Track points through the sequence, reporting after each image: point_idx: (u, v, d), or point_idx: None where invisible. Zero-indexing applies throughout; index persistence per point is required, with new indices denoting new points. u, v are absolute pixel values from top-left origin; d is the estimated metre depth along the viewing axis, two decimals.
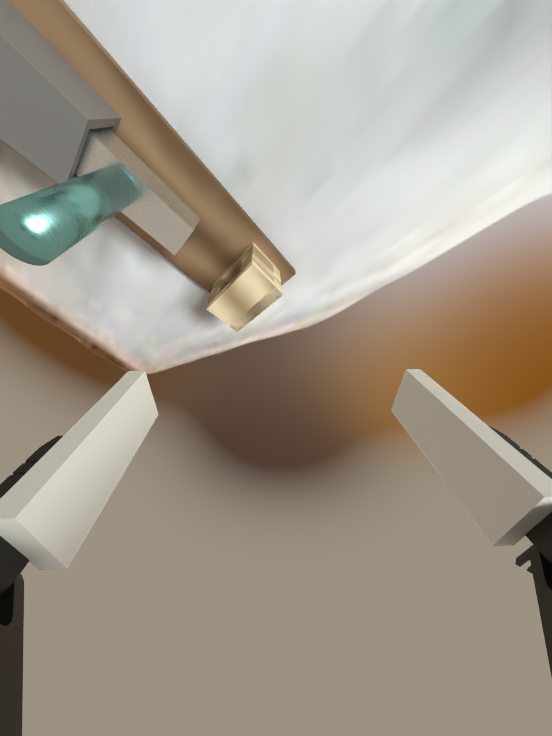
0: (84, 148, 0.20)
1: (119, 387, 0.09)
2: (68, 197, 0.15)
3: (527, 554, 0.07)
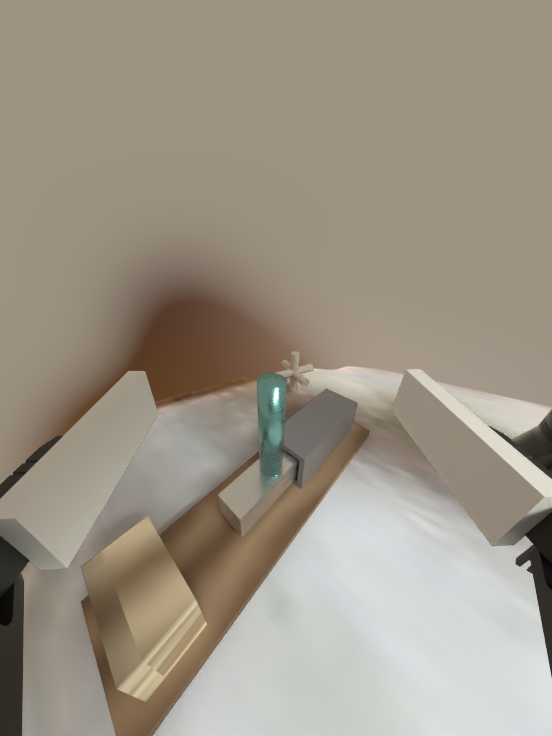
0: (288, 454, 0.31)
1: (119, 387, 0.09)
2: (282, 418, 0.24)
3: (527, 554, 0.07)
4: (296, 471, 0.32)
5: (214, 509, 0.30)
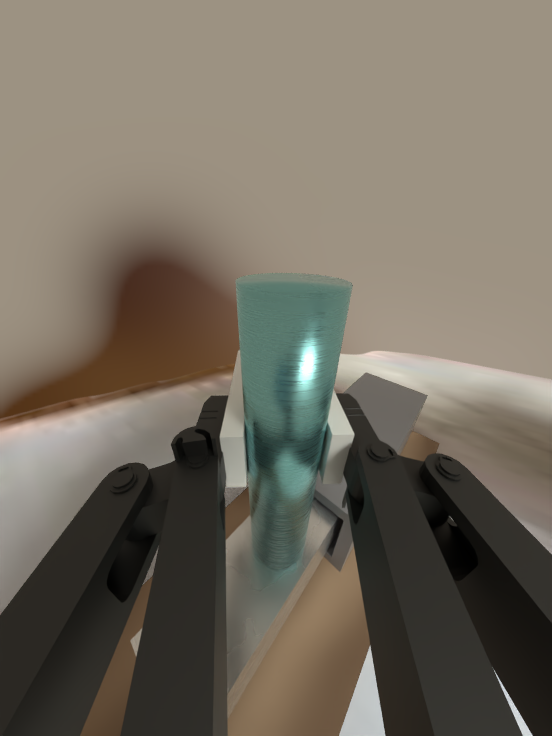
0: (317, 502, 0.14)
1: None
2: (322, 428, 0.07)
3: (345, 497, 0.08)
4: (331, 536, 0.15)
5: None
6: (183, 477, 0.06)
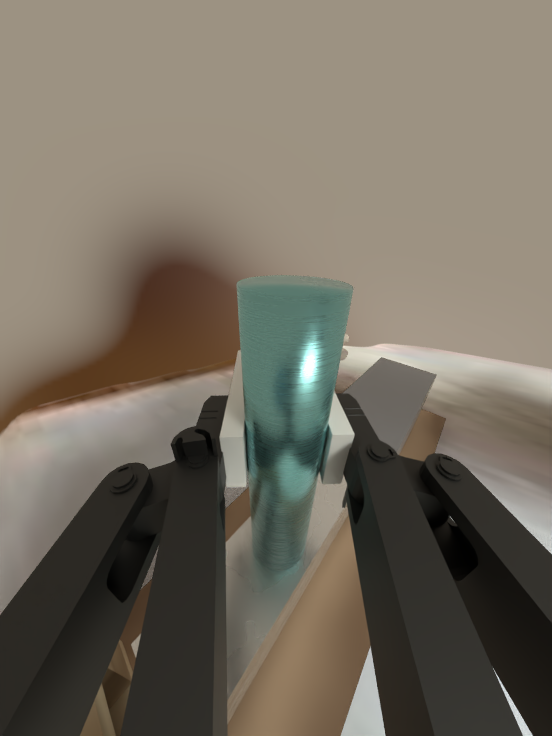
0: (317, 503, 0.14)
1: None
2: (323, 430, 0.07)
3: (345, 497, 0.08)
4: (332, 537, 0.15)
5: None
6: (183, 477, 0.06)
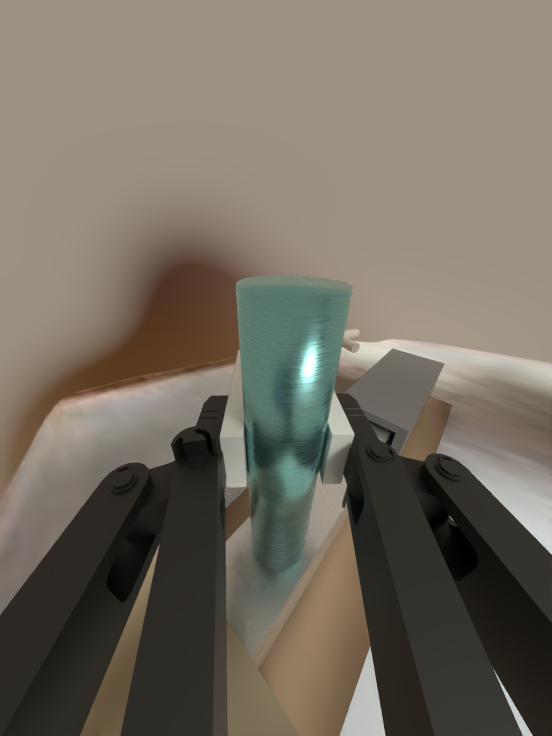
0: (317, 503, 0.14)
1: None
2: (322, 430, 0.07)
3: (345, 497, 0.08)
4: (331, 538, 0.15)
5: None
6: (183, 477, 0.06)
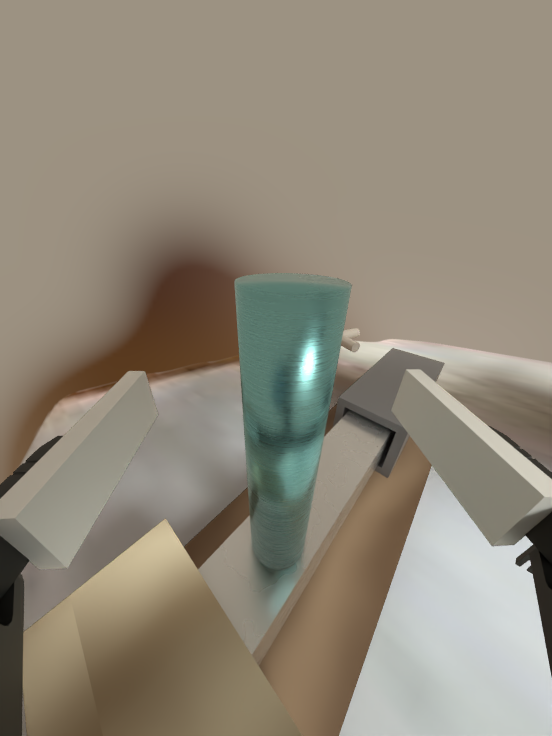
0: (316, 503, 0.14)
1: (119, 387, 0.09)
2: (322, 428, 0.07)
3: (527, 554, 0.07)
4: (331, 537, 0.15)
5: None
6: None
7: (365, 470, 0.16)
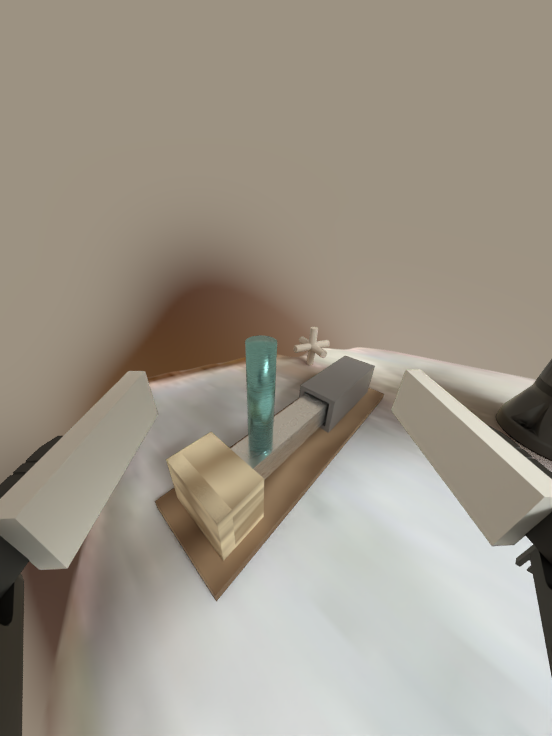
0: (280, 432, 0.30)
1: (119, 387, 0.09)
2: (272, 385, 0.23)
3: (527, 554, 0.07)
4: (287, 450, 0.30)
5: None
6: None
7: (307, 420, 0.32)
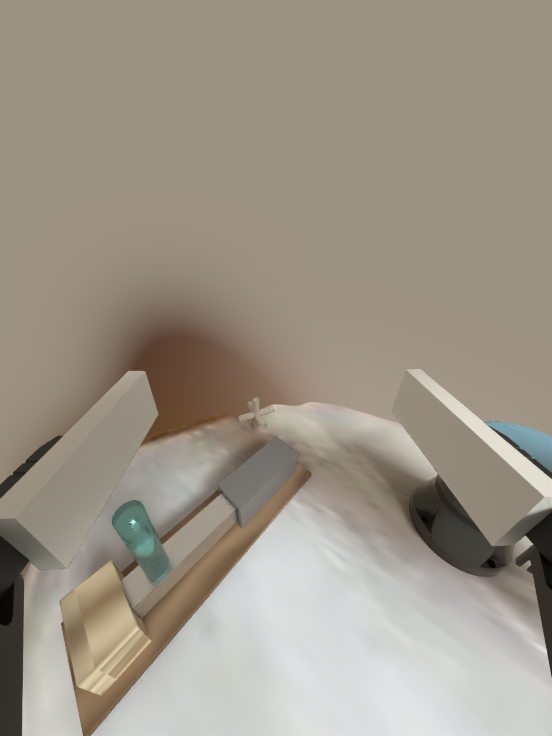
0: (179, 550, 0.33)
1: (120, 387, 0.09)
2: (144, 542, 0.26)
3: (527, 554, 0.07)
4: (188, 564, 0.34)
5: None
6: None
7: (210, 532, 0.36)
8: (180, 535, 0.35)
